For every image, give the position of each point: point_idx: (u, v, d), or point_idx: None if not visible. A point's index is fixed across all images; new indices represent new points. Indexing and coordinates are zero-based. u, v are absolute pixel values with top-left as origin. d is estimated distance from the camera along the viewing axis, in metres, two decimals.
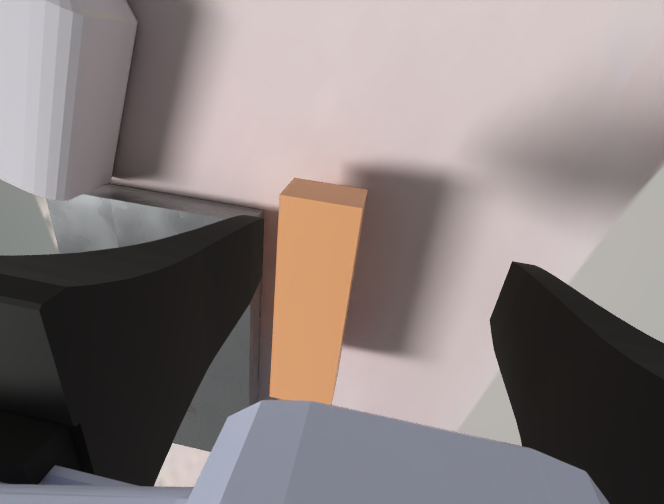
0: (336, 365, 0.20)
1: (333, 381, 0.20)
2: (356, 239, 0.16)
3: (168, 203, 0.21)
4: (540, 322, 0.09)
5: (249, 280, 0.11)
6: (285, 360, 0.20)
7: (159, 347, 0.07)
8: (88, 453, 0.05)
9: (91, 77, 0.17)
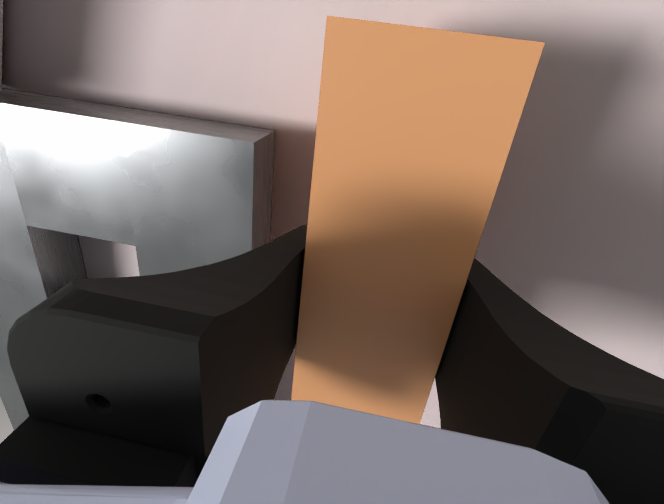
0: (418, 417, 0.10)
1: None
2: (511, 134, 0.07)
3: (102, 112, 0.12)
4: (458, 307, 0.09)
5: None
6: None
7: (256, 368, 0.07)
8: None
9: None
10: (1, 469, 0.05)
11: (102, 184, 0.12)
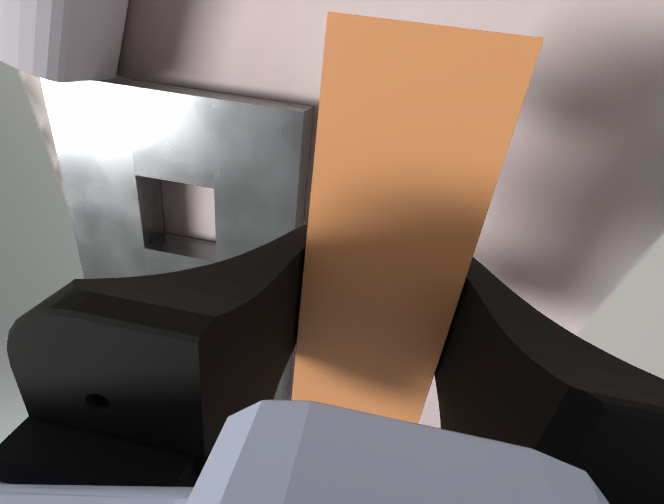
0: (418, 412, 0.10)
1: None
2: (511, 129, 0.07)
3: (196, 93, 0.17)
4: (458, 307, 0.09)
5: None
6: (319, 399, 0.11)
7: (256, 368, 0.07)
8: None
9: None
10: (1, 469, 0.05)
11: (195, 142, 0.17)
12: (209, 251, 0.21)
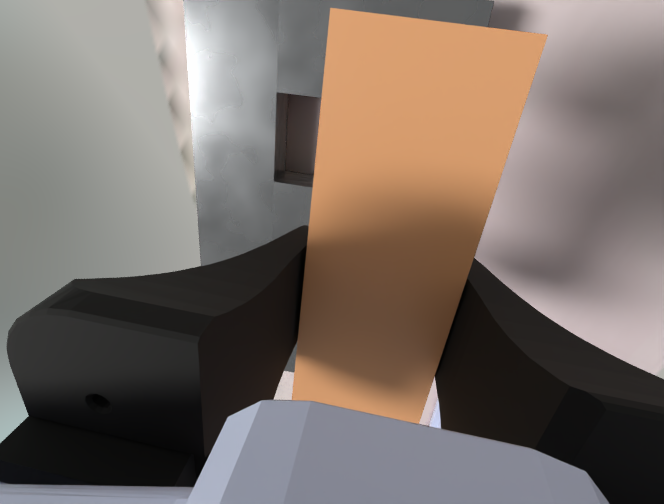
0: (420, 411, 0.10)
1: None
2: (514, 127, 0.07)
3: None
4: (458, 307, 0.09)
5: None
6: (320, 398, 0.11)
7: (256, 367, 0.07)
8: None
9: None
10: (1, 469, 0.05)
11: None
12: None
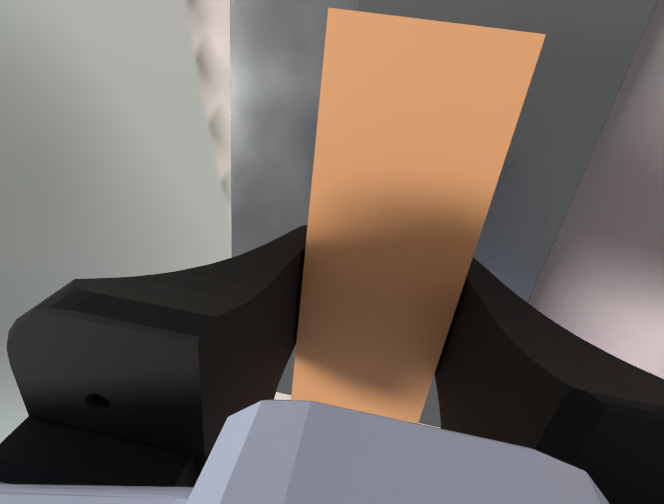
0: (419, 411, 0.10)
1: None
2: (512, 126, 0.07)
3: None
4: (458, 307, 0.09)
5: None
6: (319, 398, 0.11)
7: (256, 367, 0.07)
8: None
9: None
10: (1, 469, 0.05)
11: None
12: None
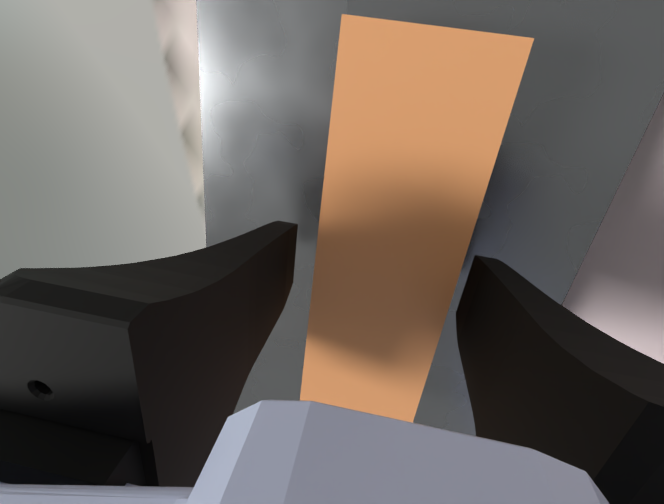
0: (421, 385, 0.11)
1: (413, 412, 0.12)
2: (505, 120, 0.08)
3: None
4: (494, 313, 0.09)
5: (284, 287, 0.11)
6: (328, 376, 0.11)
7: (213, 359, 0.07)
8: (155, 469, 0.05)
9: None
10: (1, 469, 0.05)
11: None
12: None
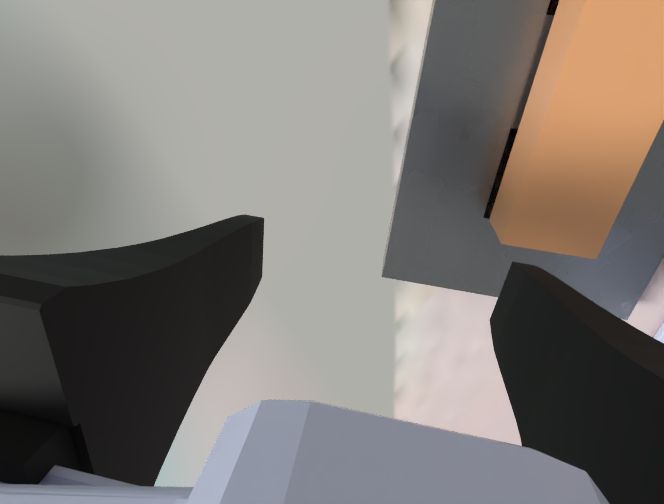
0: (634, 174, 0.13)
1: (619, 206, 0.14)
2: None
3: None
4: (540, 322, 0.09)
5: (249, 280, 0.11)
6: (550, 172, 0.14)
7: (159, 347, 0.07)
8: (88, 453, 0.05)
9: None
10: (1, 469, 0.05)
11: None
12: None
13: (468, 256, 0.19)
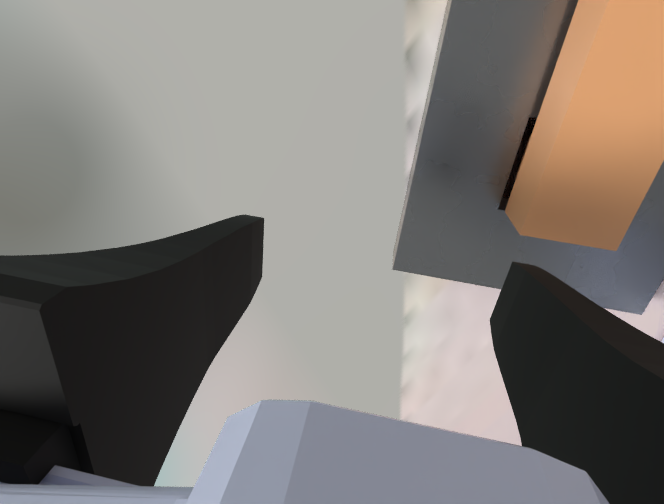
0: (659, 163, 0.13)
1: (642, 195, 0.13)
2: None
3: None
4: (540, 322, 0.09)
5: (249, 280, 0.11)
6: (572, 160, 0.13)
7: (159, 347, 0.07)
8: (88, 453, 0.05)
9: None
10: (1, 469, 0.05)
11: None
12: None
13: (481, 249, 0.18)
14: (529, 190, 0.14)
